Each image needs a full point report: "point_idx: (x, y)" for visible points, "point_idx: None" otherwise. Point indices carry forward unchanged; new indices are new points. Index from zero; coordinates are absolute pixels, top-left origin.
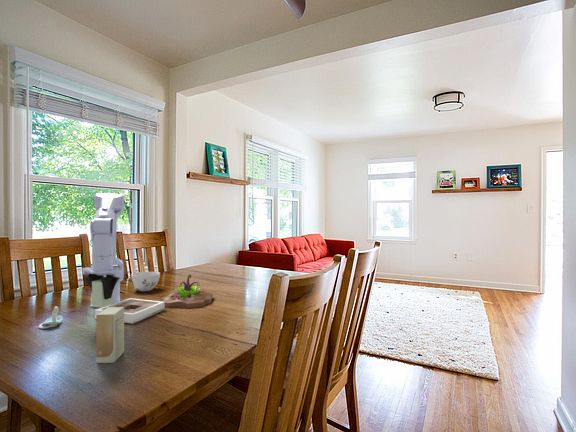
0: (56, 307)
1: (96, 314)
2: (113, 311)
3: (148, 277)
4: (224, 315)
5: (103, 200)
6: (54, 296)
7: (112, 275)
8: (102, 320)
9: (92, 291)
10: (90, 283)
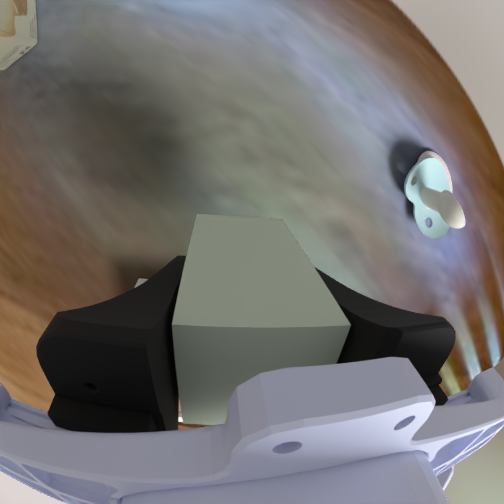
0: (457, 213)
1: None
2: None
3: None
4: (4, 370)
5: None
6: (488, 357)
7: (54, 421)
8: None
9: (306, 265)
10: (361, 308)
